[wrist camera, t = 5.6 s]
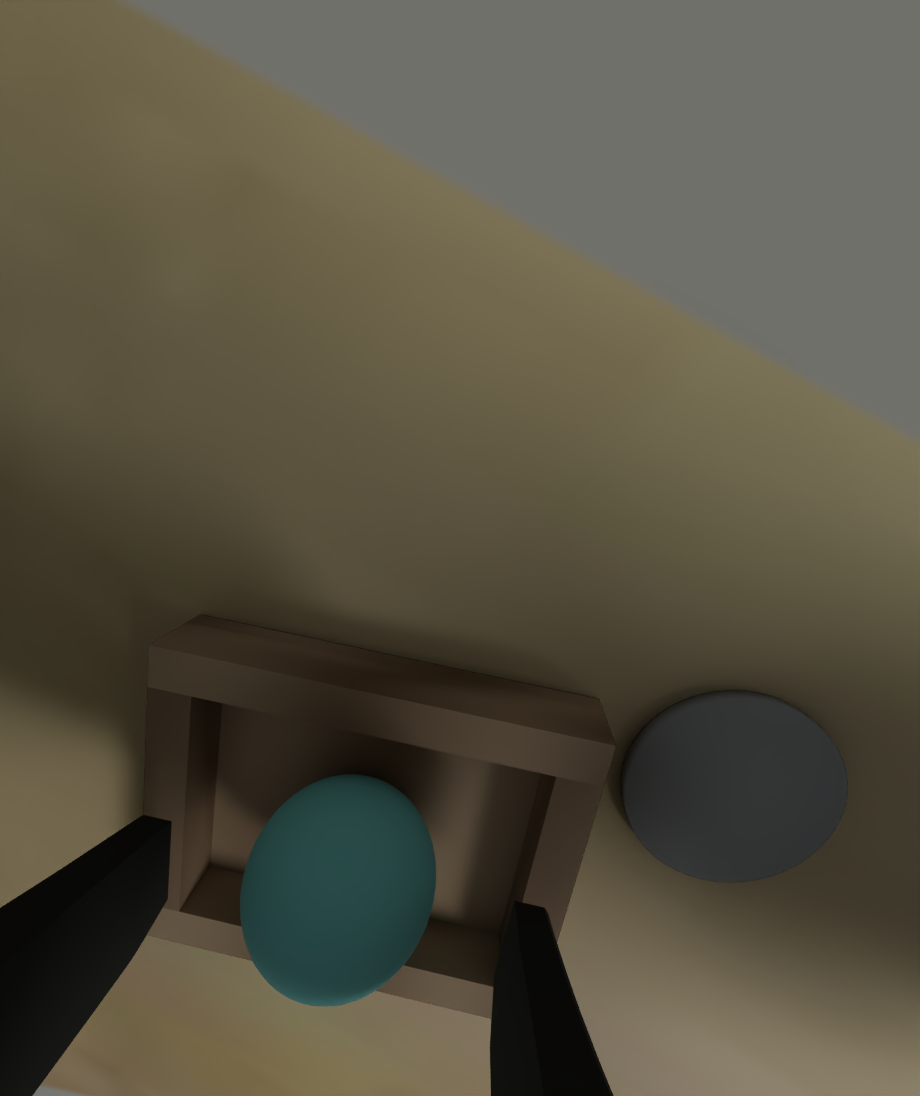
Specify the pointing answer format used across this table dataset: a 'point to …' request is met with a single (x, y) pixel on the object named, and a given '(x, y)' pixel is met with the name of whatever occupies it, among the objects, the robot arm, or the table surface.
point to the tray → (377, 751)
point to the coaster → (733, 786)
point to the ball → (338, 890)
